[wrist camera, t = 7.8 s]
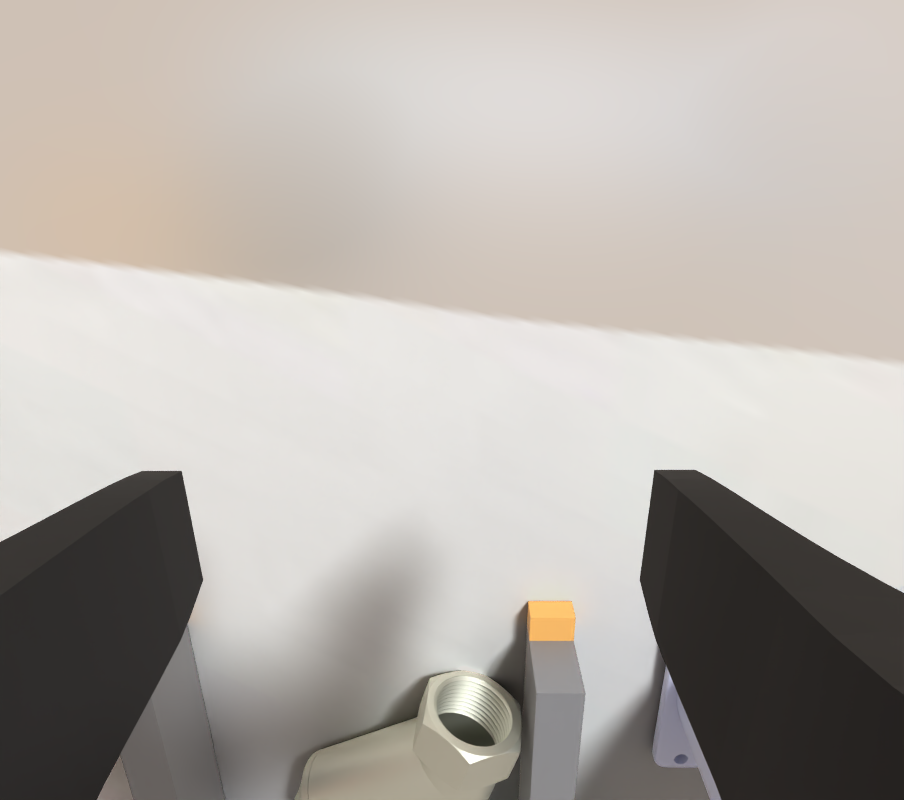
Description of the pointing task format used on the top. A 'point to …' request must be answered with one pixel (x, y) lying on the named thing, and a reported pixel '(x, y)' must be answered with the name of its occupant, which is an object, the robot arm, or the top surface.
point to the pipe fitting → (427, 748)
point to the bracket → (542, 741)
